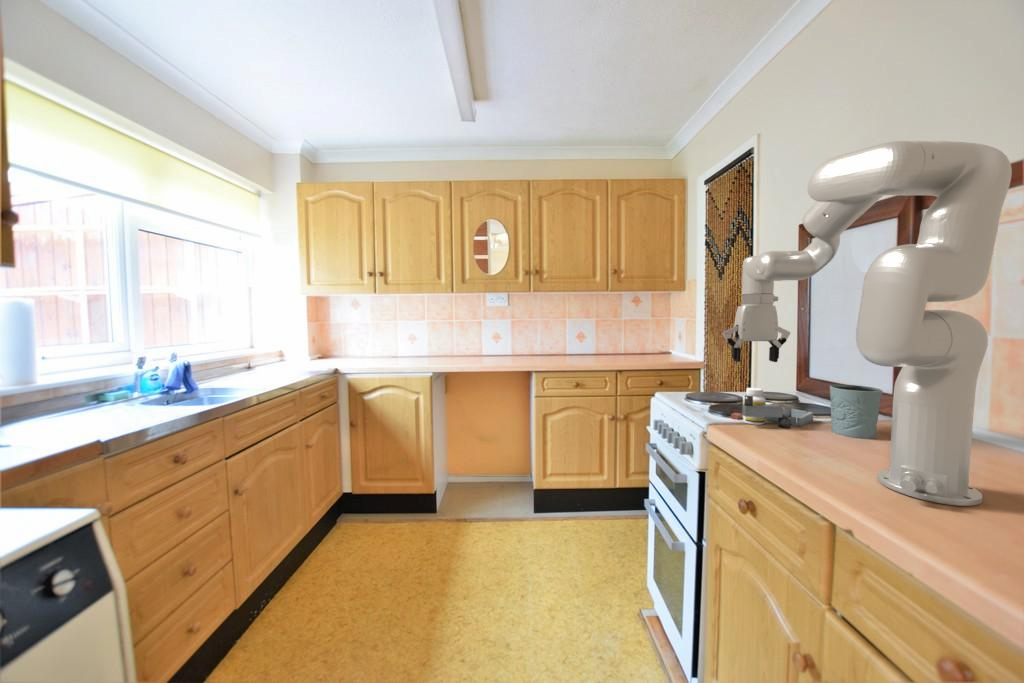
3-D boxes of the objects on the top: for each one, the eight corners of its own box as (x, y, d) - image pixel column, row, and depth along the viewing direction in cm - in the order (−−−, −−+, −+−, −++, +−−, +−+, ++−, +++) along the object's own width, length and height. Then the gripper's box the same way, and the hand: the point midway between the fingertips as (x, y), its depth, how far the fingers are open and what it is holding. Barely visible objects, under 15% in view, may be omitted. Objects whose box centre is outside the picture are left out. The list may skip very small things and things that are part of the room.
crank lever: (787, 415, 107) (788, 395, 106) (793, 417, 104) (794, 397, 103) (741, 414, 108) (742, 394, 108) (746, 417, 105) (747, 397, 105)
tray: (801, 427, 105) (801, 418, 105) (760, 419, 113) (760, 411, 113) (812, 420, 111) (813, 412, 111) (773, 414, 119) (773, 406, 119)
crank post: (788, 429, 104) (789, 419, 103) (730, 418, 115) (731, 409, 115) (792, 427, 105) (793, 417, 105) (735, 416, 117) (735, 408, 117)
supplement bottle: (769, 425, 108) (770, 390, 107) (749, 425, 108) (750, 390, 107) (757, 419, 113) (758, 386, 112) (738, 420, 113) (739, 387, 113)
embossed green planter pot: (829, 435, 98) (831, 388, 98) (825, 425, 107) (827, 382, 106) (884, 442, 93) (886, 393, 92) (875, 431, 101) (878, 386, 100)
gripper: (782, 300, 111) (780, 359, 112) (718, 301, 113) (717, 359, 114) (798, 300, 103) (795, 363, 105) (729, 301, 106) (727, 363, 107)
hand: (754, 361), depth 109 cm, fingers open, 9 cm apart
